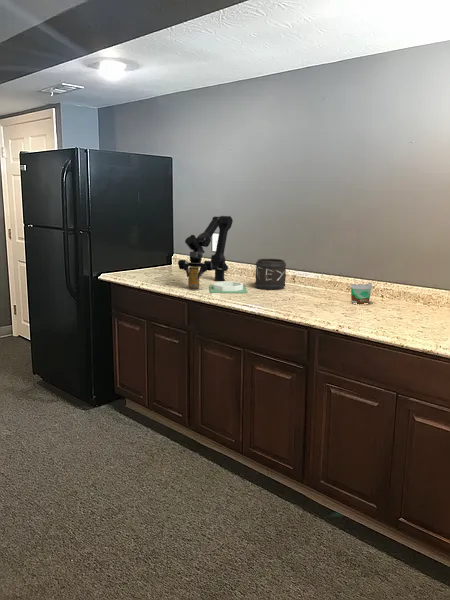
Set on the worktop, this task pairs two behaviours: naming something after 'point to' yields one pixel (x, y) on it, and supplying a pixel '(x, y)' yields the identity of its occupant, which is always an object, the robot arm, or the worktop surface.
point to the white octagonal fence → (228, 286)
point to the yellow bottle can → (193, 278)
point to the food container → (360, 293)
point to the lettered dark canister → (270, 274)
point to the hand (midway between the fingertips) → (193, 277)
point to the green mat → (227, 291)
